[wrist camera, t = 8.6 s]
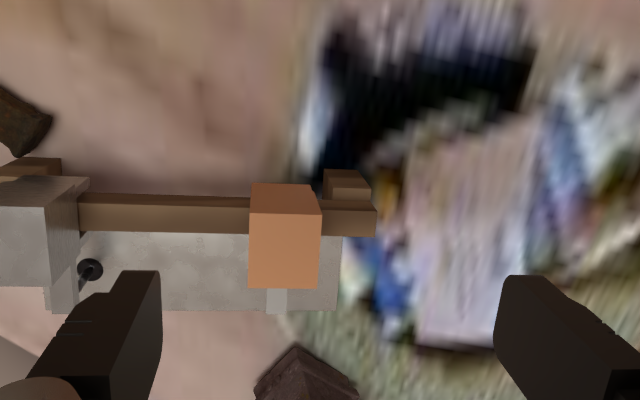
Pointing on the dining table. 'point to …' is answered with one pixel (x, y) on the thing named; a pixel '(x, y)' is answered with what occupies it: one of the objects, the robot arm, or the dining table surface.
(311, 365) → the hammer
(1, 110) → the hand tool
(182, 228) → the beam
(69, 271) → the block
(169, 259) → the bolt plate
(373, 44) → the dining table surface
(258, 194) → the block
